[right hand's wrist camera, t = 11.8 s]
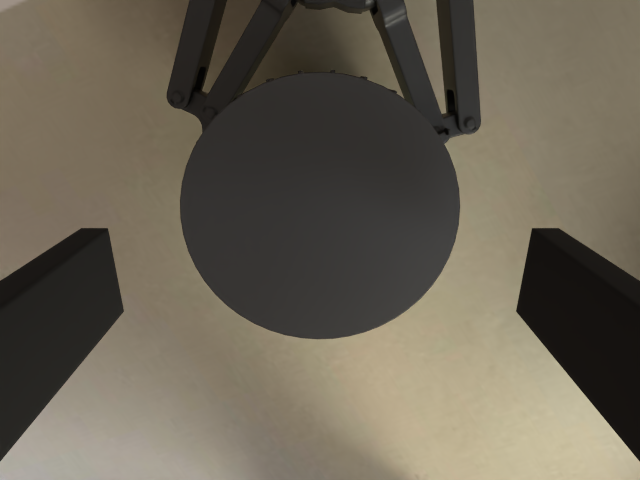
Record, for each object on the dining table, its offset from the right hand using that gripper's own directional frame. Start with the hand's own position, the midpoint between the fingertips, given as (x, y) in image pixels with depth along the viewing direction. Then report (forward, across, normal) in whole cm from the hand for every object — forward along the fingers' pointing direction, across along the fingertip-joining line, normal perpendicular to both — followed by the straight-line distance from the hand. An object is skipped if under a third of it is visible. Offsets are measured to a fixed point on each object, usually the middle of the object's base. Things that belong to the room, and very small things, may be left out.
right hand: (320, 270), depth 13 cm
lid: (+5, 0, 0) cm, 5 cm away
